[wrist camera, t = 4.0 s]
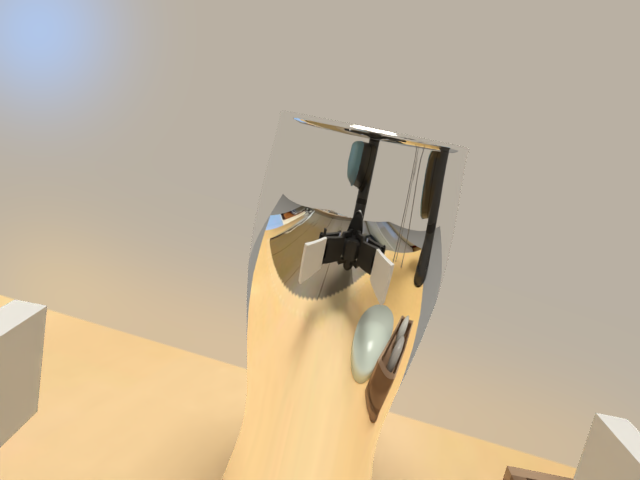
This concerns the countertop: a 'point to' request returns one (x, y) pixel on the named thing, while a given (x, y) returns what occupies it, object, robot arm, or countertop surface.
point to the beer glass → (339, 291)
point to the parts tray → (529, 475)
